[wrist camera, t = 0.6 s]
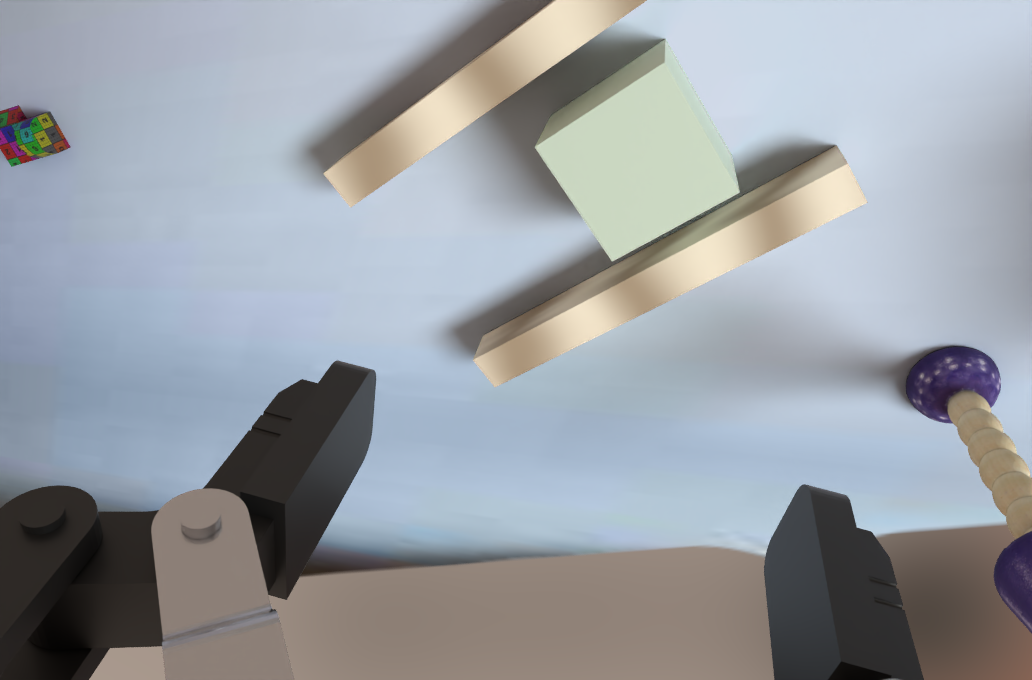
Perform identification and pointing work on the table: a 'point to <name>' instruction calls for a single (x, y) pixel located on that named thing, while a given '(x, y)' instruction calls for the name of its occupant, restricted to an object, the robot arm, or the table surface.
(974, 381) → the toy lamp
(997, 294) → the table surface
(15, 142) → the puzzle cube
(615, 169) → the sage block
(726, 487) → the table surface
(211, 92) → the table surface
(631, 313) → the parallel wooden bars
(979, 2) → the table surface
